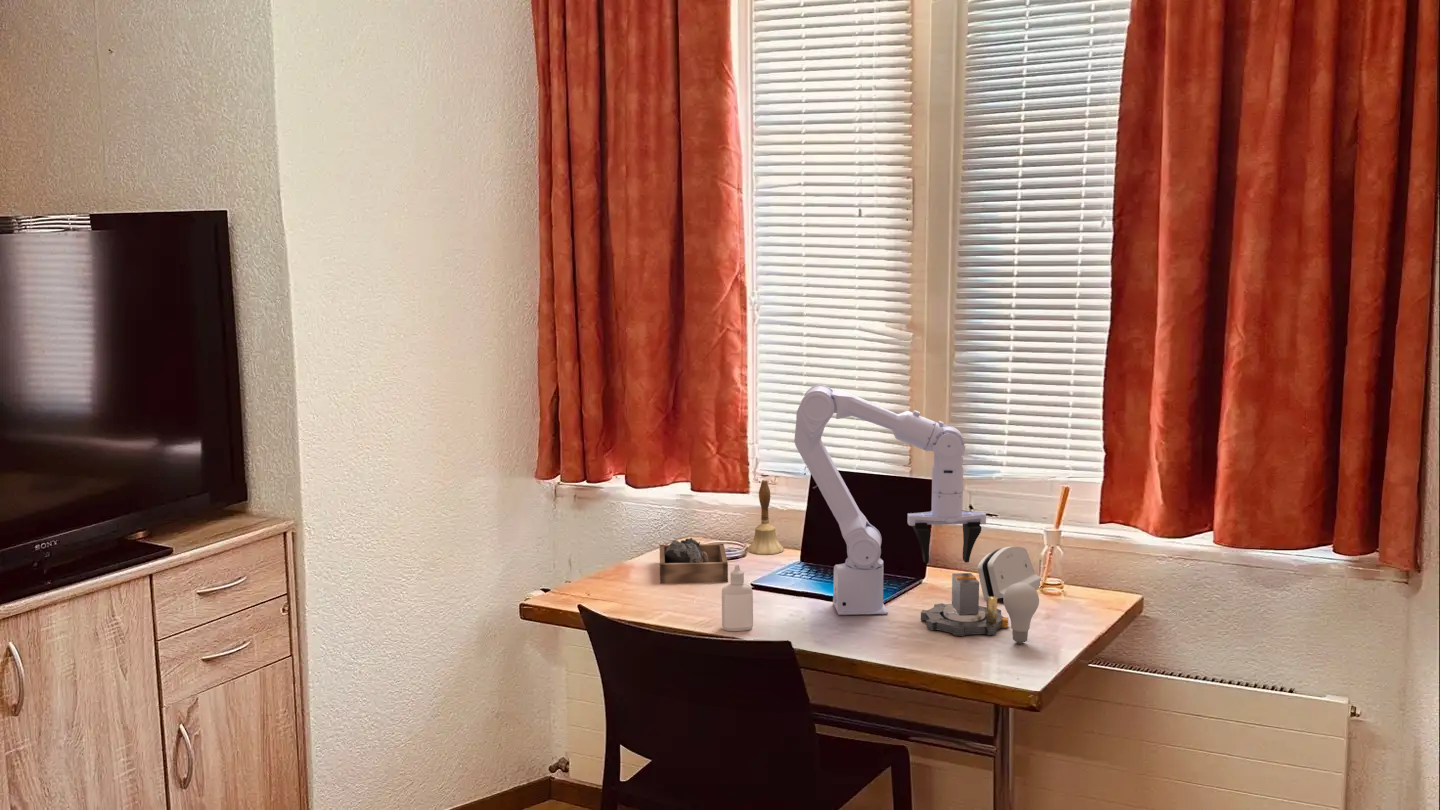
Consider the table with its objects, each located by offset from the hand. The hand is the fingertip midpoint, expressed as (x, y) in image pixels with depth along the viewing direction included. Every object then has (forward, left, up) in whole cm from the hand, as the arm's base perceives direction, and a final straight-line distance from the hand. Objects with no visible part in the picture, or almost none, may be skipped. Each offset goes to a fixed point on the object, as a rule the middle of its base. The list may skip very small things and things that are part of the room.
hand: (945, 561), depth 237 cm
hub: (+2, -7, -10) cm, 12 cm away
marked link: (+2, -7, -7) cm, 10 cm away
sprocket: (+2, -7, -10) cm, 12 cm away
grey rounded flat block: (+16, +12, -10) cm, 23 cm away
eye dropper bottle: (-40, -7, -10) cm, 42 cm away
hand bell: (-30, +48, -10) cm, 58 cm away
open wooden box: (-47, +31, -10) cm, 57 cm away
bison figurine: (-47, +31, -10) cm, 57 cm away
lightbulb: (+9, -19, -10) cm, 23 cm away
